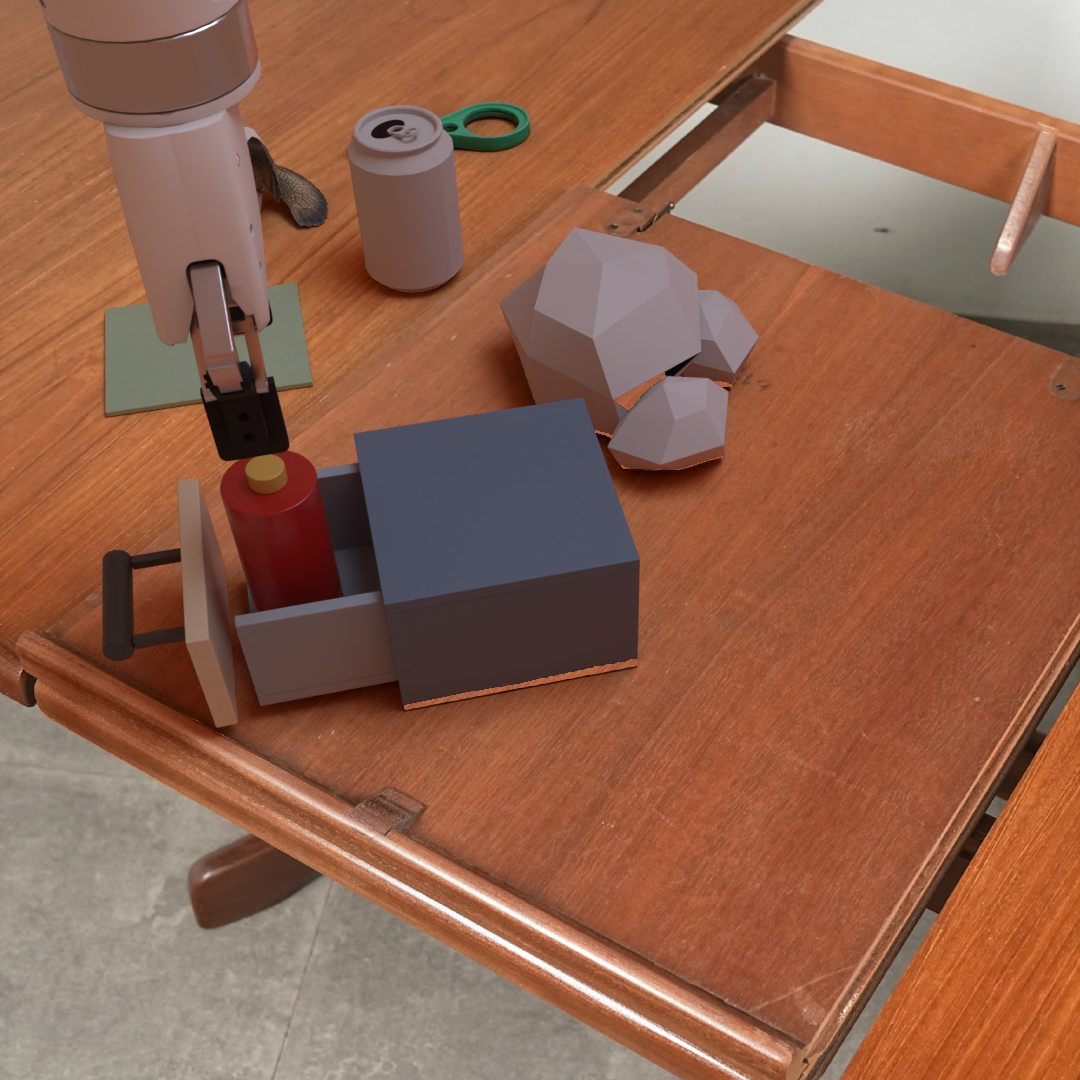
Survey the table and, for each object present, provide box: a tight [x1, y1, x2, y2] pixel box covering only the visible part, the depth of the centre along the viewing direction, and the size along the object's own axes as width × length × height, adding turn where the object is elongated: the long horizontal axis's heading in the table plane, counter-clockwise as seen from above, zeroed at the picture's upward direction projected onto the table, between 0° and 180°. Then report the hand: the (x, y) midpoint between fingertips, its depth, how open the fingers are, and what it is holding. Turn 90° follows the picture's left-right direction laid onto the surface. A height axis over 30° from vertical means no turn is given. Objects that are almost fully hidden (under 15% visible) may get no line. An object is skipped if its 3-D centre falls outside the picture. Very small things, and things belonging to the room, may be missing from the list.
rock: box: [498, 226, 760, 470], centre depth 92 cm, size 18×20×10 cm
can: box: [346, 104, 465, 294], centre depth 101 cm, size 8×8×12 cm
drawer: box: [101, 462, 399, 728], centre depth 77 cm, size 17×12×7 cm
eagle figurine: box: [244, 126, 329, 228], centre depth 108 cm, size 8×7×9 cm
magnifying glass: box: [350, 101, 531, 152], centre depth 117 cm, size 15×6×2 cm, turn 108°
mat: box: [104, 282, 314, 418], centre depth 99 cm, size 14×12×1 cm
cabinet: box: [352, 398, 641, 706], centre depth 79 cm, size 14×14×9 cm
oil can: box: [219, 450, 344, 612], centre depth 75 cm, size 5×5×12 cm
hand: (248, 387), depth 67 cm, fingers open, 9 cm apart
